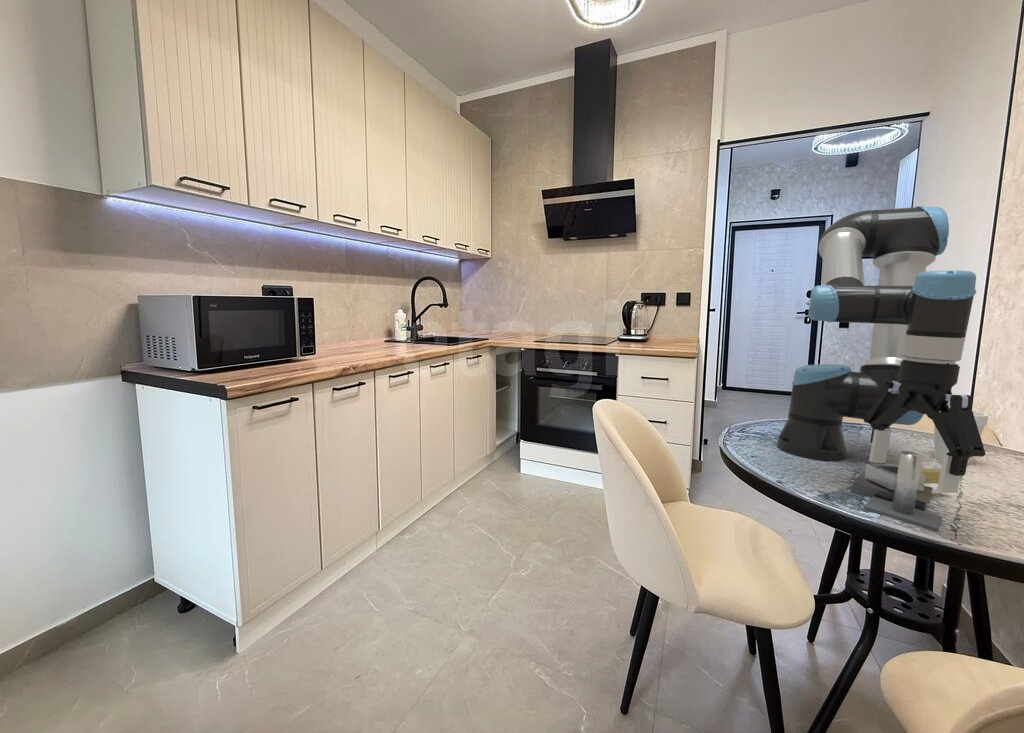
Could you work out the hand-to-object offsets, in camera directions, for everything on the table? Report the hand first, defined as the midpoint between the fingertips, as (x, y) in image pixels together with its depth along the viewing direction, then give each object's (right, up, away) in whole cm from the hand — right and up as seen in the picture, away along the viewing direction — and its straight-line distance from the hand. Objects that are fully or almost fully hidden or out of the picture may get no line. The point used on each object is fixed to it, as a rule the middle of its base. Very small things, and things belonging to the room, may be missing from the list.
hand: (909, 475), depth 78 cm
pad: (0, -7, +1) cm, 8 cm away
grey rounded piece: (+41, -5, +33) cm, 53 cm away
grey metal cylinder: (0, -7, +1) cm, 7 cm away
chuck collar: (+10, -4, +10) cm, 14 cm away
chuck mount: (+5, -6, +10) cm, 13 cm away
